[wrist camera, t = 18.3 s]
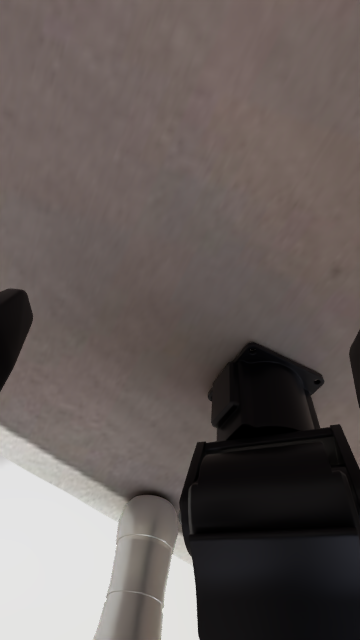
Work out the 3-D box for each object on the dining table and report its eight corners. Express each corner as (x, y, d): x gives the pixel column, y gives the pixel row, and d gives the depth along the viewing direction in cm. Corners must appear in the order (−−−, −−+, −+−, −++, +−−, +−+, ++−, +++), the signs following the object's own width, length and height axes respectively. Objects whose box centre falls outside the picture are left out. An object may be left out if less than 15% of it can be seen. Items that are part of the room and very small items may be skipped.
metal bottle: (114, 501, 38) (28, 806, 21) (145, 478, 35) (72, 821, 18) (159, 522, 40) (111, 822, 23) (193, 503, 36) (165, 837, 20)
